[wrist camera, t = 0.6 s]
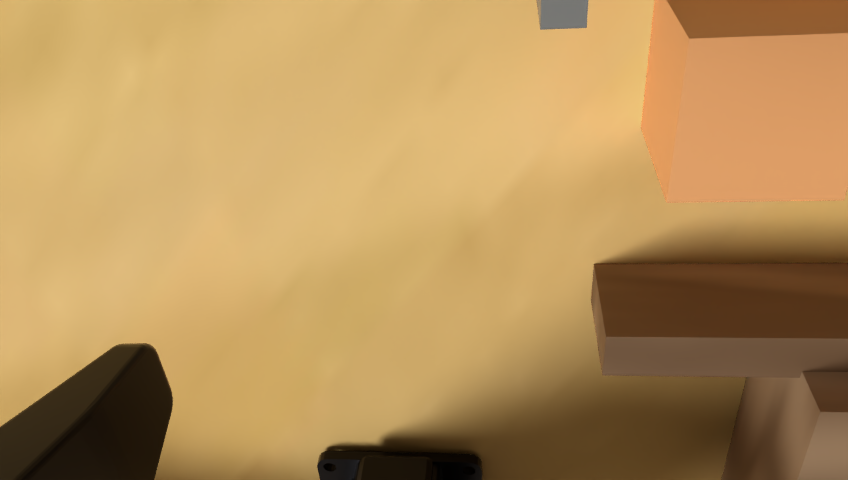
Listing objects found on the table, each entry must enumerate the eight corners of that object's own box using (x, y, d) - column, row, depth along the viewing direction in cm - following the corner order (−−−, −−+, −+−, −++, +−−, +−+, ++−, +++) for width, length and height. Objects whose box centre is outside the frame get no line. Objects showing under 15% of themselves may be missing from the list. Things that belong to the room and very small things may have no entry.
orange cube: (789, 123, 21) (843, 199, 17) (640, 126, 21) (666, 202, 18) (823, -26, 18) (893, 31, 15) (656, -19, 19) (689, 38, 16)
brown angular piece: (947, 496, 29) (1020, 626, 25) (576, 486, 30) (587, 606, 26) (1072, 261, 22) (1198, 383, 18) (593, 262, 24) (612, 375, 20)
